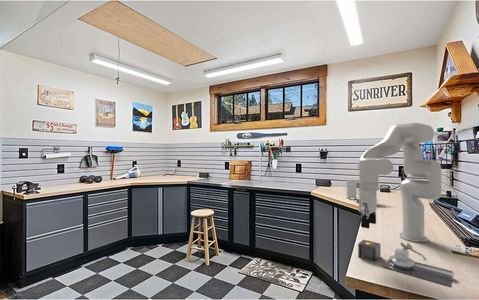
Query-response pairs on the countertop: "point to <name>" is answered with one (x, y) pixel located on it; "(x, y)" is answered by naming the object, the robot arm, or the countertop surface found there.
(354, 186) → the hard drive box
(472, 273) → the countertop surface
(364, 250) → the socket
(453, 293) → the countertop surface
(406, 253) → the lever switch plate
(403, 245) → the pliers
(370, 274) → the countertop surface
